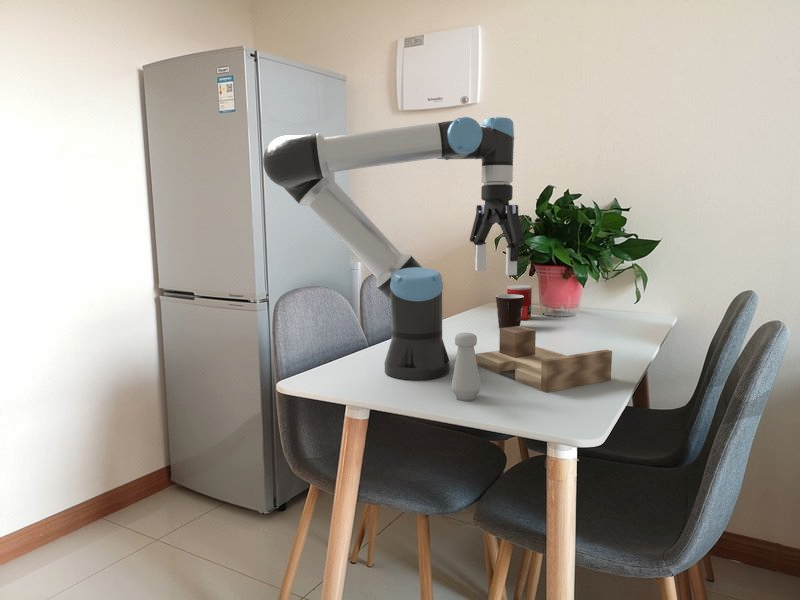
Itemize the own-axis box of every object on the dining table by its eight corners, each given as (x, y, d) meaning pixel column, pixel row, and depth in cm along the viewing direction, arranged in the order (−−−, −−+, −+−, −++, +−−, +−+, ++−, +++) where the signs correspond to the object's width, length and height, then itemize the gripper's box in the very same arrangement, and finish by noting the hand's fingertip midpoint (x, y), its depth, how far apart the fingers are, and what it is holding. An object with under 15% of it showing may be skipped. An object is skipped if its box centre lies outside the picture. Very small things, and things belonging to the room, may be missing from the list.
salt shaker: (469, 391, 125) (470, 329, 123) (486, 399, 120) (487, 334, 118) (445, 396, 122) (445, 332, 120) (461, 404, 117) (461, 337, 115)
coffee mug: (504, 324, 196) (504, 293, 194) (528, 327, 190) (529, 295, 189) (484, 330, 187) (485, 297, 185) (509, 333, 181) (510, 300, 180)
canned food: (533, 320, 202) (533, 287, 200) (509, 320, 201) (509, 287, 200) (528, 316, 209) (528, 284, 207) (505, 316, 209) (505, 285, 207)
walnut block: (514, 358, 142) (515, 332, 141) (499, 352, 147) (499, 328, 146) (535, 354, 144) (535, 330, 143) (519, 349, 150) (519, 325, 149)
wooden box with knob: (545, 392, 123) (546, 361, 122) (473, 364, 146) (474, 337, 145) (610, 380, 131) (612, 350, 130) (533, 355, 154) (533, 330, 153)
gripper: (542, 182, 139) (539, 276, 142) (480, 186, 160) (479, 267, 163) (516, 181, 135) (513, 278, 139) (456, 185, 157) (456, 269, 160)
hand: (495, 272), depth 151 cm, fingers open, 12 cm apart
